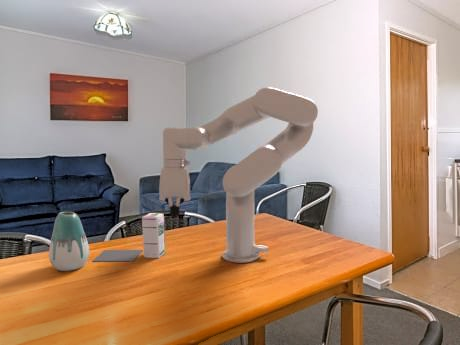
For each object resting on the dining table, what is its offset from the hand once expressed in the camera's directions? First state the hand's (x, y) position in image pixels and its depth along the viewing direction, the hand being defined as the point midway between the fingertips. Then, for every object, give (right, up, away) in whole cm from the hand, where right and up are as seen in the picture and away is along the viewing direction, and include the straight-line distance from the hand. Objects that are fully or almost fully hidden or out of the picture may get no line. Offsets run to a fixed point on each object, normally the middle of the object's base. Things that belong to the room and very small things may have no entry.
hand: (175, 216), depth 117 cm
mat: (-20, -14, +1) cm, 24 cm away
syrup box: (-7, -14, +1) cm, 16 cm away
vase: (-32, -15, -9) cm, 36 cm away
